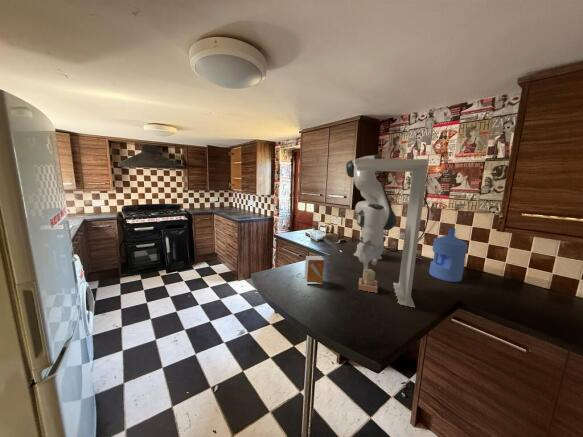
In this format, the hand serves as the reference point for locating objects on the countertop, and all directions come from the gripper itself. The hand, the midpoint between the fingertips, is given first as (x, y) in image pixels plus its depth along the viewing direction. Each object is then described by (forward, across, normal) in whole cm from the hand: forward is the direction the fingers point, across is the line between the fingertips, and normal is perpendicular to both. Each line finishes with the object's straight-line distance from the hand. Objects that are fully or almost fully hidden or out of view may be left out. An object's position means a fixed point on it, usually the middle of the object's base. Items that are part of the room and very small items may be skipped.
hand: (370, 267), depth 109 cm
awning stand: (+11, 0, -4) cm, 12 cm away
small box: (+11, -14, +23) cm, 29 cm away
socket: (+11, 0, 0) cm, 11 cm away
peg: (+11, 0, 0) cm, 11 cm away
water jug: (+12, +47, -25) cm, 55 cm away
